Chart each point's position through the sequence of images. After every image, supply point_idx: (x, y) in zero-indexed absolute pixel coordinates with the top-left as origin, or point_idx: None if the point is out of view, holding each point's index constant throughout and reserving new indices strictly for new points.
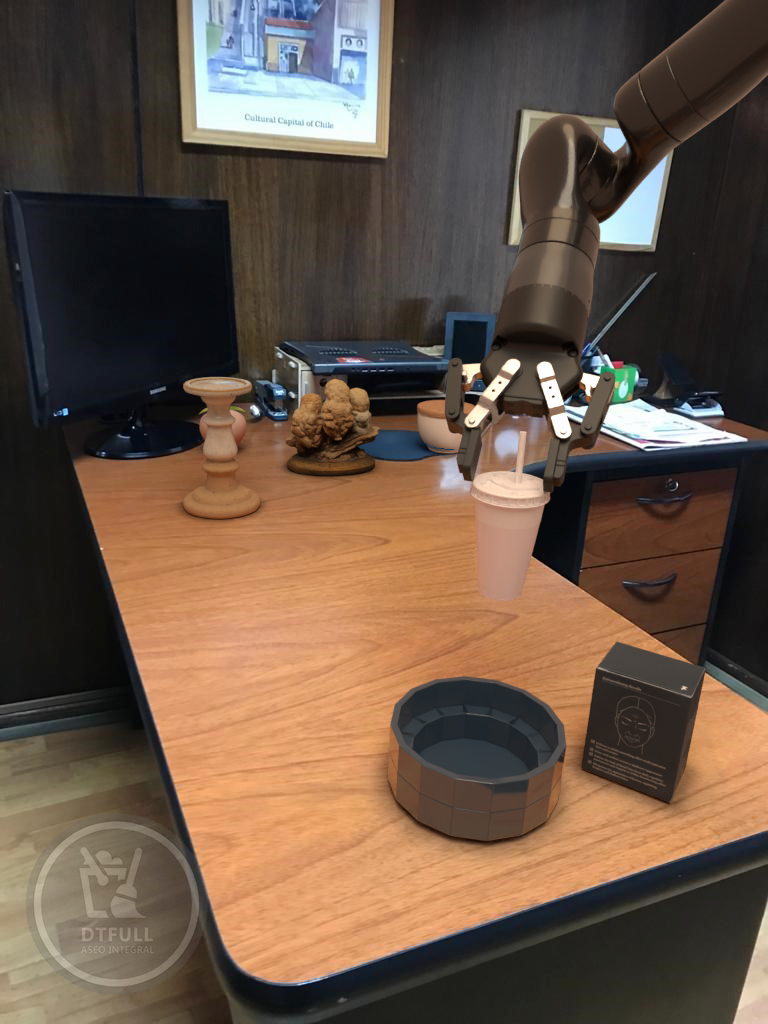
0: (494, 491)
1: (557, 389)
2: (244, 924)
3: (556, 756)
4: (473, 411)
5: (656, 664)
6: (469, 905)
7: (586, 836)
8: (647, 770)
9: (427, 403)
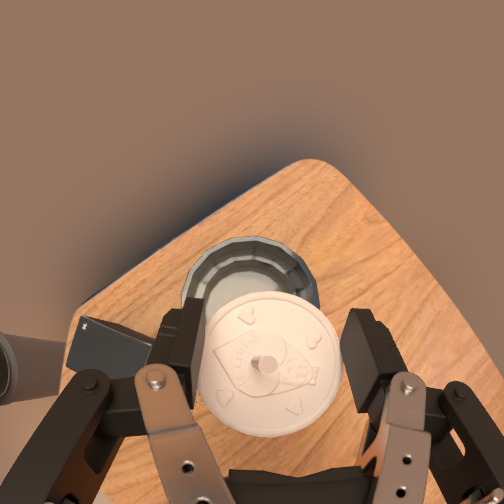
0: (294, 314)
1: (172, 495)
2: (335, 178)
3: (188, 279)
4: (420, 407)
5: (101, 361)
6: (234, 213)
7: (170, 281)
8: (126, 328)
9: None
